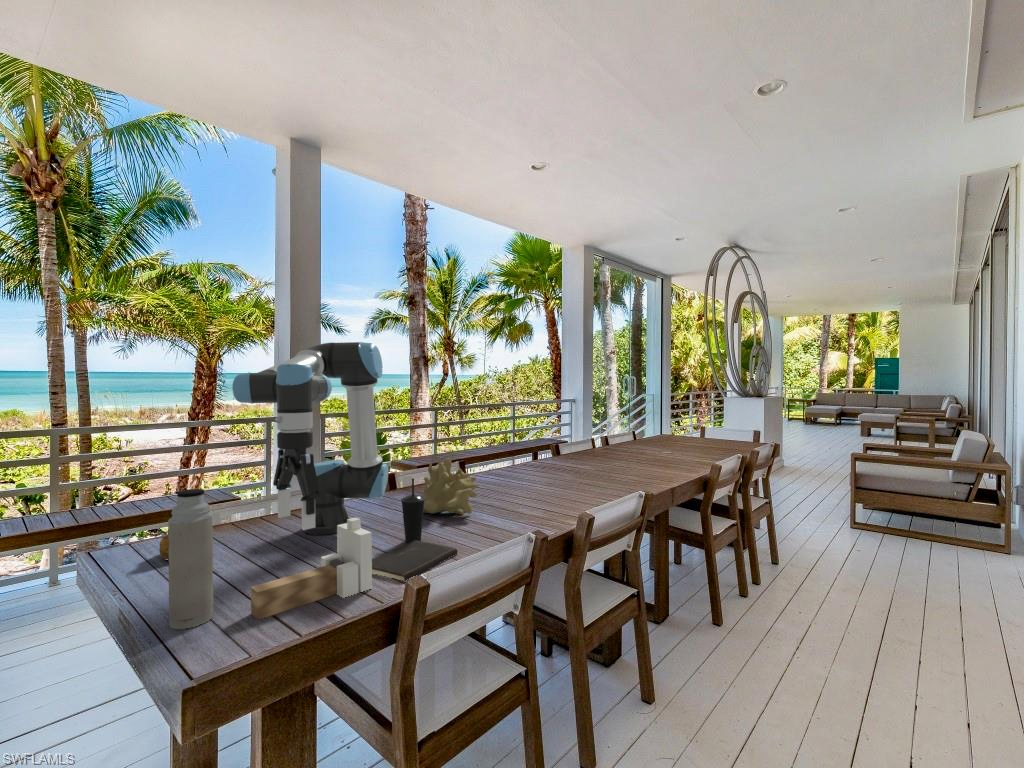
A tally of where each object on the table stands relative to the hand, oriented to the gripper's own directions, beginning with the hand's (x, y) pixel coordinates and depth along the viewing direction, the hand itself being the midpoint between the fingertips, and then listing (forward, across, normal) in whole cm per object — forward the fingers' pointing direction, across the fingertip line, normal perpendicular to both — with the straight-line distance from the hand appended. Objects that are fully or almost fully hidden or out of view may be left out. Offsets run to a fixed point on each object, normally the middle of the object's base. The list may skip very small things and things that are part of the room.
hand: (295, 522), depth 114 cm
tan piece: (+19, 0, 0) cm, 19 cm away
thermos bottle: (+19, -8, -19) cm, 28 cm away
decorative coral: (+19, -34, +72) cm, 82 cm away
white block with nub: (+19, 0, +12) cm, 22 cm away
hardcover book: (+20, -2, +33) cm, 38 cm away
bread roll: (+19, -56, -11) cm, 60 cm away
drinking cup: (+19, -17, +44) cm, 51 cm away
